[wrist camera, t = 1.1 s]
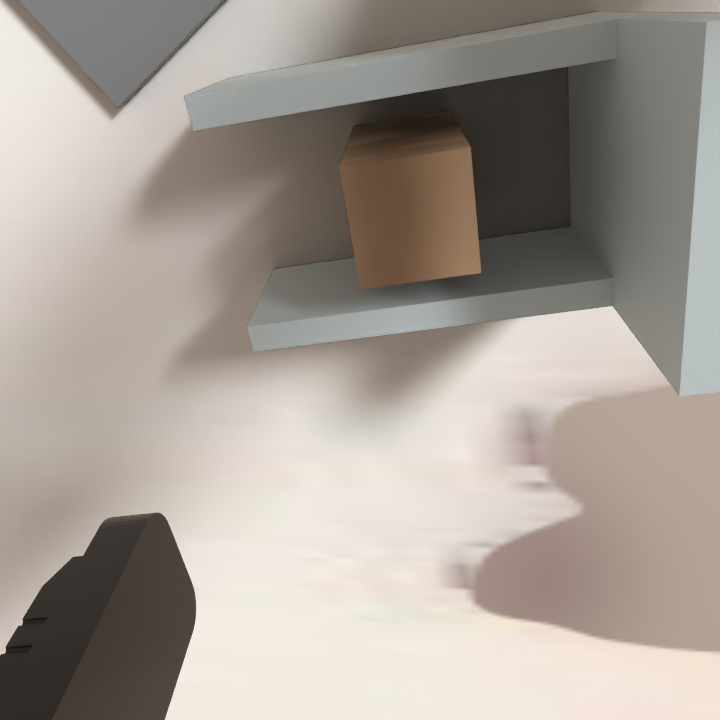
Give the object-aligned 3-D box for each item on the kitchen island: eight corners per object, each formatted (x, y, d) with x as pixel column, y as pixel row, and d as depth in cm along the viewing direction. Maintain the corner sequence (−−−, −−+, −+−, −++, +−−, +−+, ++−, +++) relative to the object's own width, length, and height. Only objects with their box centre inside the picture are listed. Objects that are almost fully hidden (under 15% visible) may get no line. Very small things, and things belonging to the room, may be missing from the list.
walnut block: (450, 110, 30) (470, 146, 22) (459, 207, 32) (481, 273, 24) (353, 126, 30) (338, 168, 22) (368, 220, 32) (360, 289, 24)
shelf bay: (596, 11, 28) (760, 12, 15) (595, 246, 32) (720, 391, 20) (227, 78, 29) (108, 127, 17) (278, 290, 34) (213, 448, 22)
